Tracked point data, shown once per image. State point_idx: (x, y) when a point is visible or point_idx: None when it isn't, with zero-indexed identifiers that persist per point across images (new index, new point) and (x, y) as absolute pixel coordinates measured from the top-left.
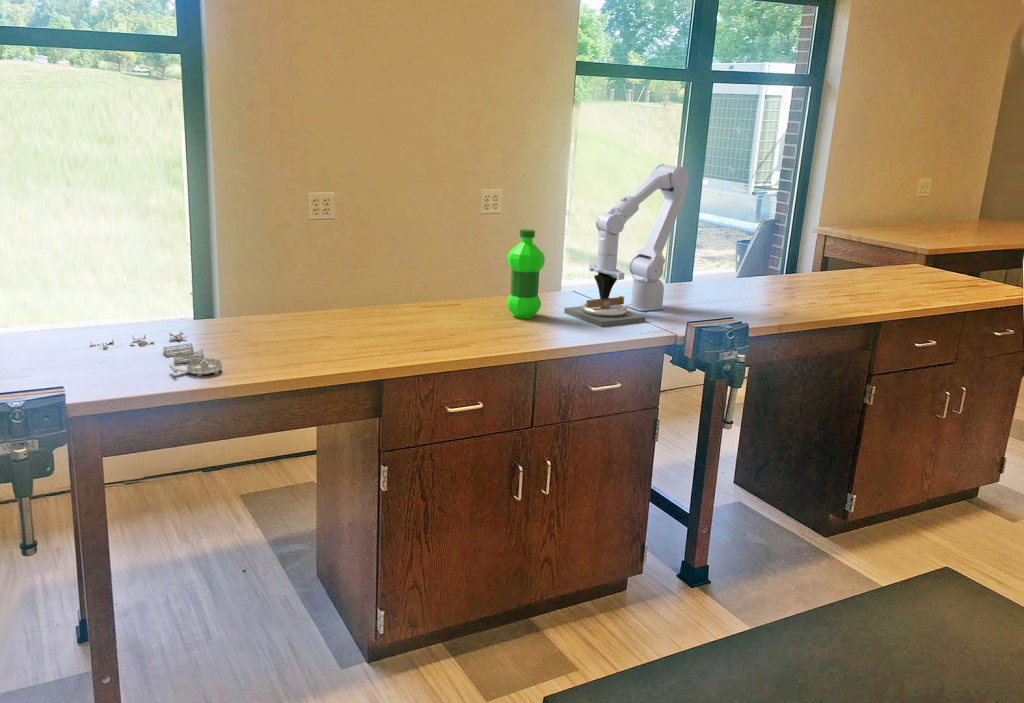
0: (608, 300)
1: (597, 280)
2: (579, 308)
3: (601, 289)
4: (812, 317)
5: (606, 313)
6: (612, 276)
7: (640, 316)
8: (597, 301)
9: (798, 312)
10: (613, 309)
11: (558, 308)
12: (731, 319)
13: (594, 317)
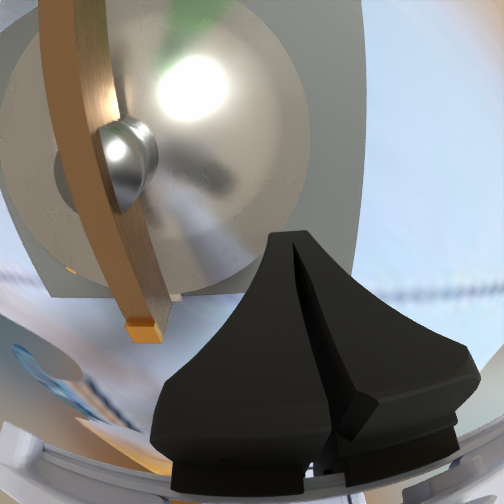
0: (82, 201)
1: (384, 341)
2: (304, 20)
3: (289, 280)
4: (143, 460)
5: (5, 105)
6: (146, 481)
7: (50, 282)
8: (50, 74)
9: (171, 466)
10: (56, 186)
11: (451, 16)
12: (121, 424)
13: (34, 28)
